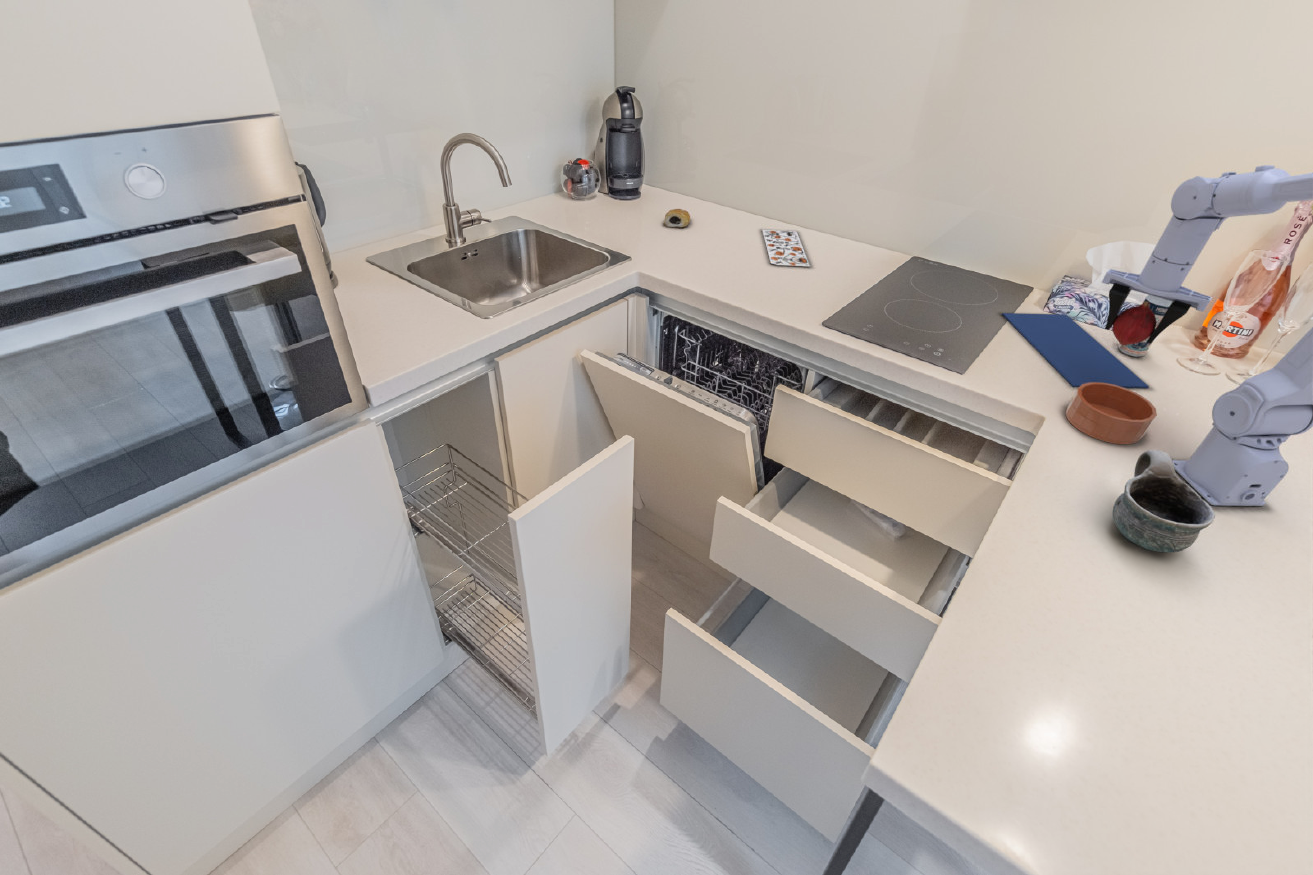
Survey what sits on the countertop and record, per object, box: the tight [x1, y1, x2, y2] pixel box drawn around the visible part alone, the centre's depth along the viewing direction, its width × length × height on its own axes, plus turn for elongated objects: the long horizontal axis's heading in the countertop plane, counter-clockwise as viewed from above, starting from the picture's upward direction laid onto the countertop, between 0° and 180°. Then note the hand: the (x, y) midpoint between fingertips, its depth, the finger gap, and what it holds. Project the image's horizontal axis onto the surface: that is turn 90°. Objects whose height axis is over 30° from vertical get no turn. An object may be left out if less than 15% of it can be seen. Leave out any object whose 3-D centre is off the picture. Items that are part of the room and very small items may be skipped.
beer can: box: [1117, 294, 1172, 358], centre depth 119 cm, size 5×5×12 cm
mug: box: [1111, 449, 1216, 553], centre depth 81 cm, size 10×12×10 cm
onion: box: [1111, 301, 1156, 345], centre depth 105 cm, size 6×6×8 cm
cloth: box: [1002, 312, 1150, 389], centre depth 123 cm, size 28×14×1 cm, turn 1°
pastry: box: [663, 208, 691, 228], centre depth 171 cm, size 9×7×4 cm
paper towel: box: [761, 229, 811, 267], centre depth 160 cm, size 24×1×9 cm
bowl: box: [1065, 382, 1158, 445], centre depth 102 cm, size 11×11×4 cm
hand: (1129, 334), depth 106 cm, fingers closed on onion, 6 cm apart
